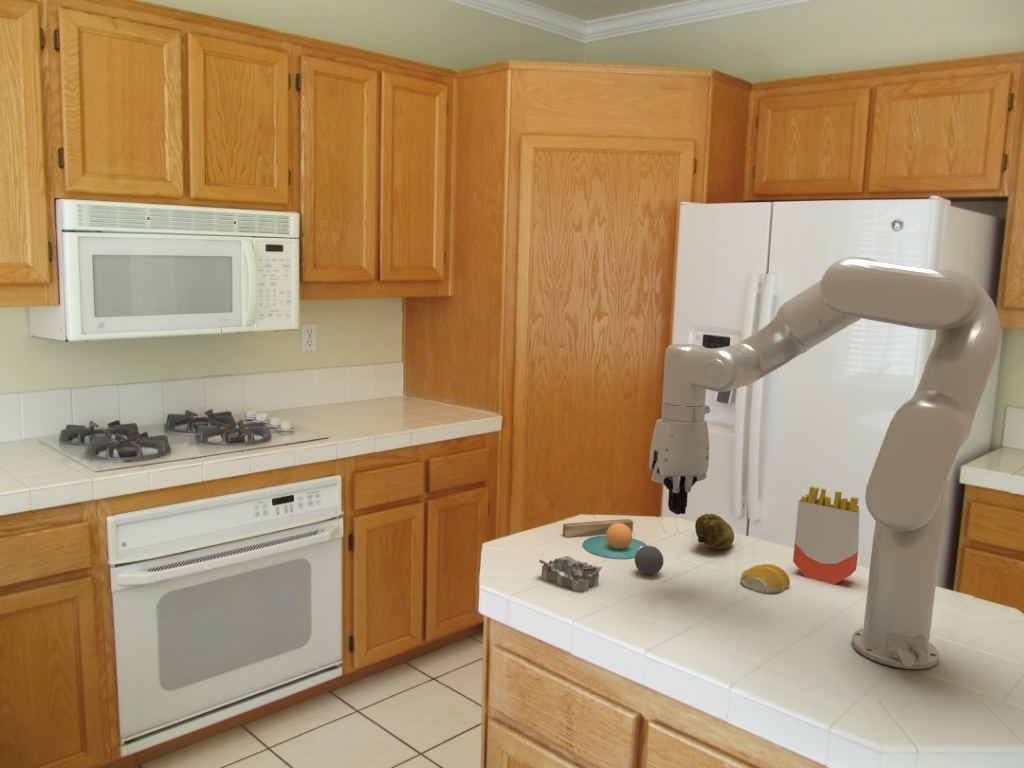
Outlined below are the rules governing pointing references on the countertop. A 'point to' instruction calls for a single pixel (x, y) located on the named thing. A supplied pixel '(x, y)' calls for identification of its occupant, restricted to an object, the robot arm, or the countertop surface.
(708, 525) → the potato
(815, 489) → the french fries container
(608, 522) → the wooden block
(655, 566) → the dark gray ball
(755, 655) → the countertop surface
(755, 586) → the bread roll
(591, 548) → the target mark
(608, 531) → the object ball
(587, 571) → the egg carton
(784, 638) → the countertop surface
